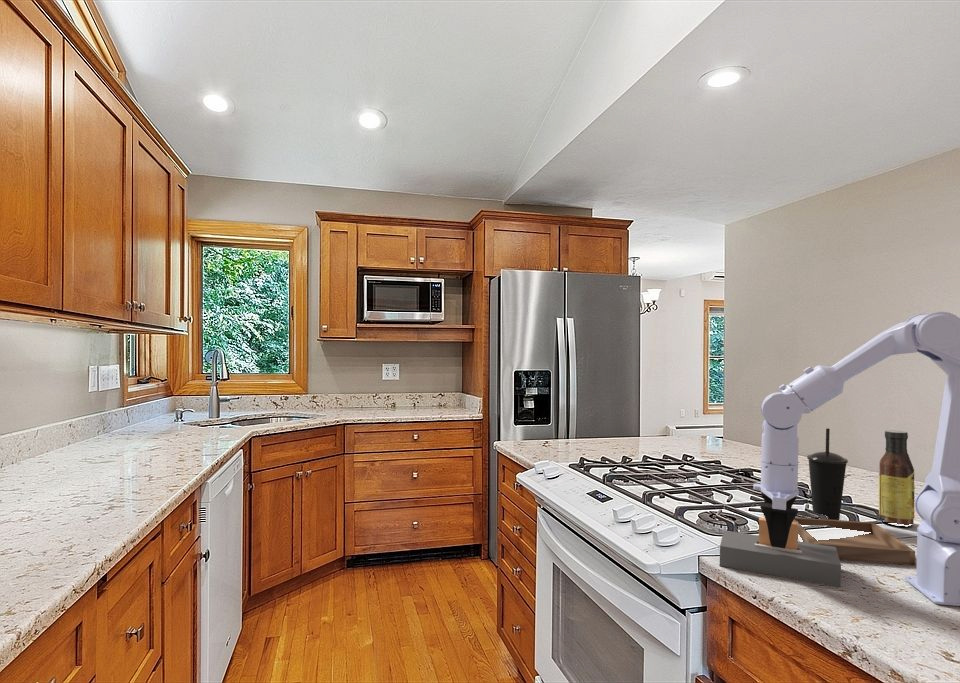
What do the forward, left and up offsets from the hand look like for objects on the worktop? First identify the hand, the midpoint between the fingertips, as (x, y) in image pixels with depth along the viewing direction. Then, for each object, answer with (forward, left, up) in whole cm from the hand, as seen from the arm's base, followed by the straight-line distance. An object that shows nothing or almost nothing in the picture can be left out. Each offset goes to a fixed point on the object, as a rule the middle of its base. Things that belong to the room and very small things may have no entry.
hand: (777, 540), depth 102 cm
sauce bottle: (+31, -32, -5) cm, 45 cm away
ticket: (0, 0, -5) cm, 5 cm away
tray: (+14, -16, -5) cm, 22 cm away
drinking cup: (+30, -18, -5) cm, 35 cm away
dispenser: (0, 0, -5) cm, 5 cm away
